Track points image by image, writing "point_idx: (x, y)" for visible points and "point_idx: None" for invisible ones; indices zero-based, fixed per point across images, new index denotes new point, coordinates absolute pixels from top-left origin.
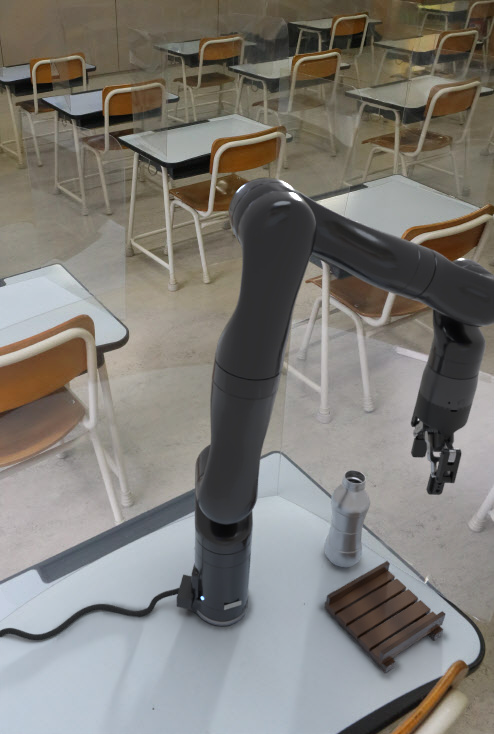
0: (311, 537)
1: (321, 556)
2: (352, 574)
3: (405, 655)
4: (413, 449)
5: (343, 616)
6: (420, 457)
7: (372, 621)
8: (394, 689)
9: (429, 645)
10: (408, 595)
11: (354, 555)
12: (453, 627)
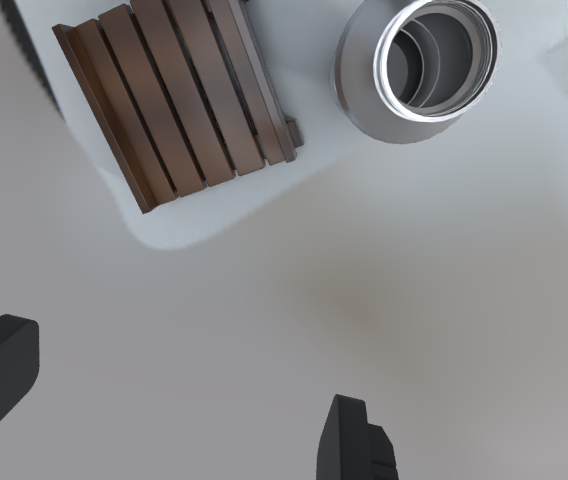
0: None
1: None
2: (321, 83)
3: None
4: (339, 438)
5: None
6: (324, 428)
7: (161, 55)
8: (49, 48)
9: None
10: (217, 169)
11: (331, 85)
12: (168, 226)
